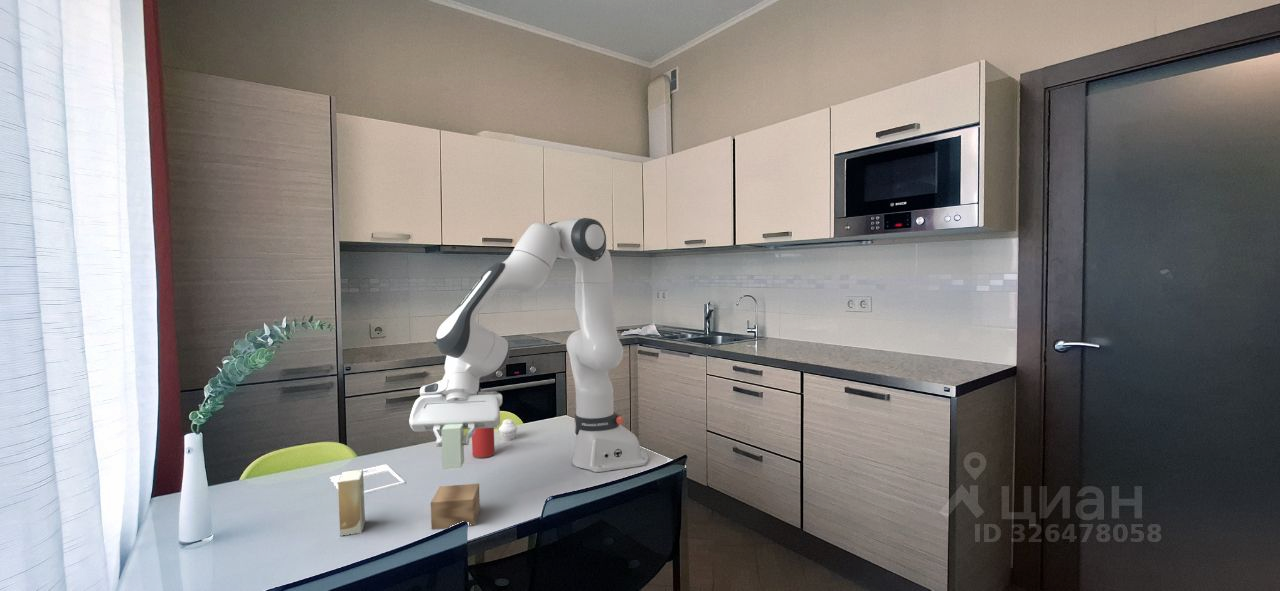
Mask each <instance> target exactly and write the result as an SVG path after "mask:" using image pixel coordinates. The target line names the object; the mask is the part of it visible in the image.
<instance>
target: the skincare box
mask: <svg viewBox="0 0 1280 591" xmlns="http://www.w3.org/2000/svg"><path fill="white" fill-rule="evenodd" d="M339 475H340V478H339V480H338V490H337V491H338V518H339V536H340V537H344V536H343V535H345V536H350V535H349V534H351V535H356V534H355V533H357V534H361V533H360V532H362V533H363V531H364V527H365V524H366V515H365V514H366V510H365V494H364V491H365V484H364V477H363V469H355V470H348V471H342V472H341V474H339ZM362 530H363V531H362Z"/></svg>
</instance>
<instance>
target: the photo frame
mask: <svg viewBox="0 0 1280 591" xmlns="http://www.w3.org/2000/svg"><path fill="white" fill-rule="evenodd" d="M362 470H363V478H366V477H365V476H367V477H370V475H371V476H375V475H374V474H376V475H379V473H380V474H383V473H388V472H389V473H390V474H391V475H392V476H393V477H394V478H395V477H396V478H397V479H398V480H399V481H400V482H399V481H398V480H397V481H398V482H395V483H390V484H386V485H383V486H378V487H375V488H372V489H368V490H364V493H366V494H369V493H368V492H370V493H373V492H372V491H374V492H377V491H376V490H378V491H381V489H382V490H385V488H386V489H389V487H390V488H394V487H397V486H400V484H401V485H404V483H406V482H405V480H404V479H403V478H402V477H400V475H398V474H397V473H396V472H395V471H394V470H393V469H392V468H391V467H390V466H389V465H388V464H386V463H385V464H382V465H381V464H380V465H377V466H373V467H368V468H363V469H362ZM340 475H341V474H338V475H333V476H330V477H329V480H330V479H331V480H330V482H333V483H334V484H333V483H332V484H333V485H334V487H335V486H336V487H335V488H336V490H337V489H338V484H337V483H338V480H339V478H340ZM396 478H395V479H396ZM393 486H394V487H393Z"/></svg>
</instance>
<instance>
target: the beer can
mask: <svg viewBox="0 0 1280 591" xmlns="http://www.w3.org/2000/svg"><path fill="white" fill-rule="evenodd" d="M471 444H472V445H471V450H472V451H471V452H472V457H474V458H475V459H487V458H490V457H492V456H493V455H494V454H495V451H496V450H495V428H477V429H475V433H474V434H473V436H472V437H471ZM486 457H487V458H486Z"/></svg>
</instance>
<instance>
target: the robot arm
mask: <svg viewBox="0 0 1280 591" xmlns="http://www.w3.org/2000/svg"><path fill="white" fill-rule="evenodd" d="M558 259H565V260H572V261H573V262H574V265H575V278H574V279H575V281H574V282H575V283H574V284H575V286H574V287H575V289H574V291H575V292H574V295H575V296H574V310H575V313H576V314H577V318H578V324H579V328H580V329H578V330H575V331H573V332H571V334H569V336H568V338H567V340H566V343H565V344H566V351H567V353H568V356H569V360H570V367H571V372H572V377H573V382H574V389H575V414H574V419H573V420H574V433H575V443H574V444H575V445H574V450H573V454H572V460H571V463H572V465H573V466H574V467H578V468H581V469H585V470H589V471H591V472H594V473H602V472H608V471H616V470H623V469H629V468H636V467H642V466H645V465H646V464H648V462H649V456H648V453H647V452H646V450H644V449H642V448H641V445H640V442H639V439H638V437H637V436H636V434H634V433H633V432H632V431H630V430H629V429H627V428H626V427H624V426H623V424H624V419H623V416H621V415H620V414H619V413H618V411H616V412H615V411H614V387H613V383H612V382H611V379H610V377H609V376H610V375H609V372H608V371H610V370H613V369H615V368H616V367H618V366H619V364H620V363H621V362H622V359H623V357H624V347H623V344H622V342H621V341H620V338H619V336H618V330H617V326H616V320H615V315H614V272H613V264H612V258H611V253H610V251H609V250H608V248H607V235H606V231H605V228H604V226H603V225H602V224H601V222H600V221H599V220H596V219H594V218H590V217H589V218H588V217H582V218H567V219H565V220H561V221H555V222H554V221H553V222H551V223H546V222H540V221H539V222H534V223H532V224H531V225H529V227H528V228H527V229H526V230H525V231H524V232H523V234H522V235H521V237H520V238H519V239H518V241H517V243H516V244H515V246H514V248H513V250H512V251H511V253H510V254H509V256H508V257H507V258H506V259H505V260H504V261H502V262H495V263H493V264H492V265H490V266H489V267H488V268H487V269H486V270H485V271H484V272H483V274H482V275H481V276H480V277H479V278H478V280H477V281H476V282H475V283H474V285H473V286H472V287H471V288H470V290H469V291H468V292H467V293H466V295H465V296H464V298H463V299H462V300H461V301H460V303H459V304H458V305H457V307H456V308H455V309H454V310H453V311H452V312H450V314H449V315H448V316H447V317H446V318H445V319H444V320H443V321H442V322H441V324H440V325H439V327H438V328H437V330H436V332H435V342H436V345H437V348H438V350H439V352H440V353H441V354H443V355H445V356H446V357H445V361H444V375H443V376H442V379H441V380H438V381H436V382H433V383H430V384H429V383H428V384H427V385H423V386H421V387H420V389H419V397H417V399H415V401H414V403H413V405H412V408H411V411H410V414H409V419H408V423H409V426H410V428H411V429H412V431H413V432H415V433H416V432H418V433H419V432H421V433H422V432H433V434H434V436H435V438H436V440H435V444H436V447H438V448H439V447H441V448H442V428H443V427H444V425H445V424H463V430H467V432H466V434H464V435H462V440H461V444H462V445H464V446H469V445H470V439H472V436H473V434H474V433H475V429H477V428H494V429H495V428H497V427H499V426H500V424H501V412H500V407H501V406H502V404H503V395H502V394H501V392H497V391H496V390H491V391H483V390H482V391H479V390H480V389H479V388H480V378H482V377H483V378H484V377H485V378H486V377H488V376H490V375H492V374H494V373H497V372H499V371H501V370H502V369H503V368H504V367H505V366H506V365H507V364H508V361H509V357H510V352H511V351H510V350H511V349H510V344H509V340H507V339H506V338H504V337H503V336H501V335H499V334H498V333H497V332H494V331H493V330H489V329H488V328H486V327H484V326H483V325H482V324H480V323H477V321H476V317H477V316H478V315H479V314H480V311H481V310H482V309H483V308H484V306H485V305H486V304H487V303H488V301H489V300H490V298H491V297H492V296H493V295H494V294H495V293H496V292H498V291H501V290H502V291H511V292H517V293H530V292H534V291H537V290H539V289H540V288H541V287H542V286H543V284H544V283H545V282H546V281H547V279H548V277H549V274H550V273H551V270H552V268H553V266H554V264H555V262H556V260H558Z"/></svg>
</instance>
